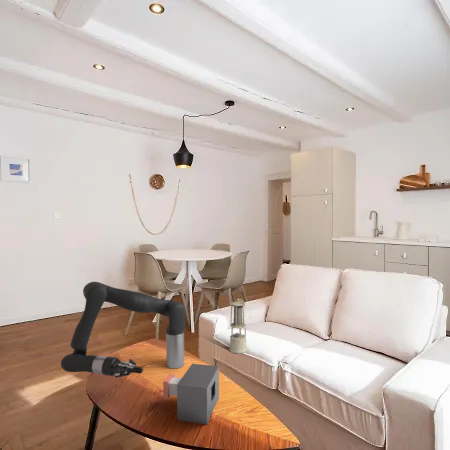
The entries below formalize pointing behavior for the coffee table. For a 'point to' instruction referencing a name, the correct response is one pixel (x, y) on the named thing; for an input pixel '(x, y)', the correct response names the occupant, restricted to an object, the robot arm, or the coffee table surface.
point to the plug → (170, 386)
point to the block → (198, 393)
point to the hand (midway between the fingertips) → (142, 370)
